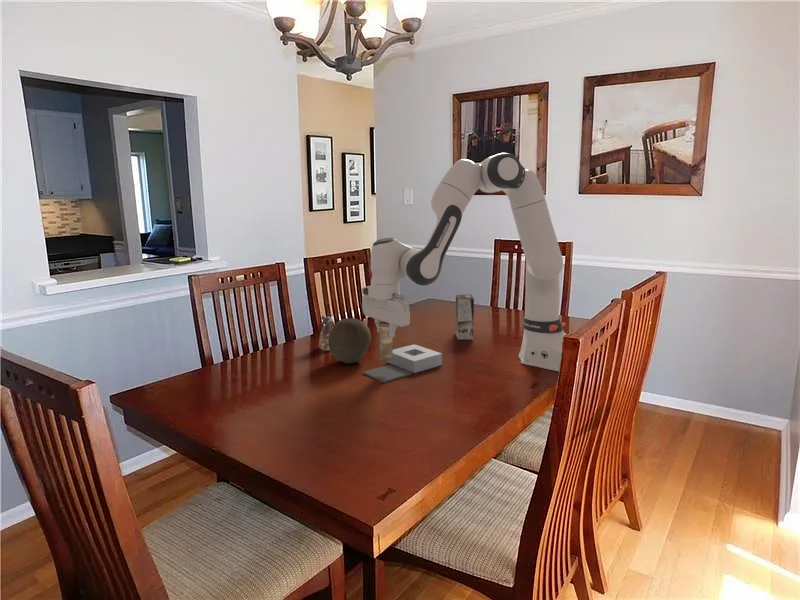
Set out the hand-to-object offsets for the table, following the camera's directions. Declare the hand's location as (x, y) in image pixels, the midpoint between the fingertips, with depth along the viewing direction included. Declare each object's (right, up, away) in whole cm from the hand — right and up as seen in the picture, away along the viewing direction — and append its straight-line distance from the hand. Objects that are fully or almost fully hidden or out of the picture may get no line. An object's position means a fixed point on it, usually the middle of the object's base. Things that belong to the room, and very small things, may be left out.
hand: (386, 334), depth 168 cm
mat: (0, -13, +3) cm, 13 cm away
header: (+9, -11, +12) cm, 18 cm away
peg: (0, -8, +2) cm, 8 cm away
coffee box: (+30, -4, +43) cm, 53 cm away
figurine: (-22, -7, +32) cm, 39 cm away
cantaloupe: (-13, -10, +15) cm, 22 cm away
